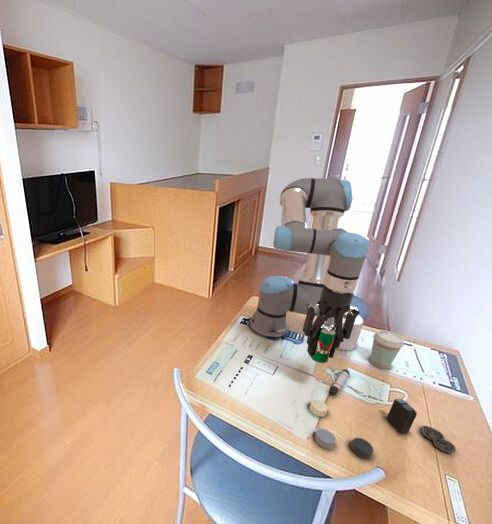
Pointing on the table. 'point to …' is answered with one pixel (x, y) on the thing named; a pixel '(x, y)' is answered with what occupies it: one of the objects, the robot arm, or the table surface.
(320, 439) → the grey cap
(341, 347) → the toilet paper roll
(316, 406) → the cream cap
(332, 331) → the soda can
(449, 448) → the corroded twin loop
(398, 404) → the ink cartridge
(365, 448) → the charcoal cap
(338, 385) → the marker
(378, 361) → the coffee cup
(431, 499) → the table surface
